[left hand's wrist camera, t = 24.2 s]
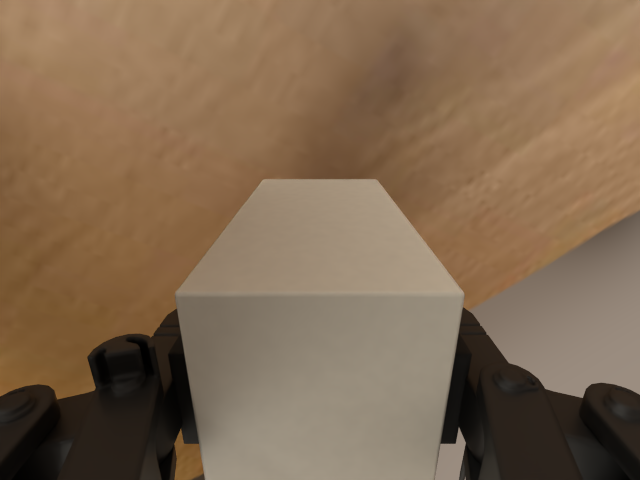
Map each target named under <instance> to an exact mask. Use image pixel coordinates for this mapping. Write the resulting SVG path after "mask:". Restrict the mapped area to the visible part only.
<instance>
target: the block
mask: <svg viewBox="0 0 640 480" xmlns="http://www.w3.org/2000/svg"><path fill="white" fill-rule="evenodd" d="M464 297H465V295H464V292H463V291H462V289H461V288H460V287H459V285H458V284H457V283H456V281H455V280H454V279H453V278H452V276H451V275H450V274H449V272H448V271H447V270H446V268H445V267H444V266H443V265H442V263H441V262H440V261H439V259H438V258H437V257H436V255H435V254H434V253H433V252H432V250H431V249H430V248H429V246H428V245H427V244H426V242H425V241H424V240H423V239H422V237H421V236H420V235H419V233H418V232H417V231H416V230H415V228H414V227H413V226H412V224H411V223H410V222H409V220H408V219H407V218H406V217H405V215H404V214H403V213H402V211H401V210H400V209H399V207H398V206H397V205H396V204H395V202H394V201H393V200H392V198H391V197H390V196H389V194H388V193H387V192H386V191H385V189H384V188H383V187H382V185H381V184H380V183H379V181H378V180H377V179H263V180H262V181H261V183H260V184H259V185H258V187H257V188H256V189H255V190H254V192H253V193H252V194H251V196H250V197H249V198H248V200H247V201H246V202H245V203H244V205H243V206H242V207H241V209H240V210H239V211H238V212H237V214H236V215H235V216H234V218H233V219H232V220H231V221H230V223H229V224H228V225H227V227H226V228H225V229H224V231H223V232H222V233H221V234H220V236H219V237H218V238H217V240H216V241H215V242H214V243H213V245H212V246H211V247H210V249H209V250H208V251H207V252H206V254H205V255H204V256H203V258H202V259H201V260H200V262H199V263H198V264H197V265H196V267H195V268H194V269H193V271H192V272H191V273H190V274H189V276H188V277H187V278H186V280H185V281H184V282H183V284H182V285H181V286H180V287H179V289H178V290H177V291H176V293H175V299H176V305H177V311H178V318H179V324H180V330H181V336H182V342H183V348H184V354H185V360H186V366H187V372H188V378H189V384H190V391H191V397H192V403H193V409H194V415H195V421H196V427H197V433H198V439H199V445H200V451H201V457H202V464H203V470H204V476H205V480H435V474H436V467H437V461H438V455H439V449H440V443H441V437H442V431H443V425H444V419H445V413H446V407H447V400H448V394H449V388H450V382H451V376H452V370H453V364H454V358H455V352H456V346H457V339H458V333H459V327H460V321H461V315H462V309H463V303H464Z"/></svg>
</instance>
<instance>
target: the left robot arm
mask: <svg viewBox="0 0 640 480" xmlns="http://www.w3.org/2000/svg"><path fill="white" fill-rule="evenodd" d="M87 358H88V361H89V365H90V368H91V372H92V376H93V379H94V383H95V386H96V389H95V391H92V392H89V393H85V394H80V395H76V396H72V397H67V398H63V399H58V400H57V398H56V395H55V392H54V390H53V389H52V388H51V387H49V386H46V385H39V384H38V385H31V386H25V387H22V388H19V389H15V390H13V391H10V392H8V393H6V394H5V395H3V396H1V397H0V480H174V477H175V468H176V459H177V458H176V451H175V446H174V443H175V441H176V438H177V436H178V434H179V431H180V429H182V435H183V440H184V444H199V439H198V433H197V427H196V421H195V415H194V409H193V403H192V397H191V391H190V384H189V378H188V372H187V366H186V360H185V354H184V348H183V342H182V336H181V330H180V324H179V318H178V311H177V309H175V310H174V311H173V312H171V313H170V314H168V315H167V316H166V318H165V319H164V320H163V322H162V323H161V325H160V327H158V329H157V330H156V331H155V333H154V336H152V337H151V338H150V337H149V336H147V335H143V334H127V335H123V336H119V337H115V338H113V339H110V340H108V341H106V342H104V343H102V344H101V345H99V346H98V347H96V348H95V349H94V350H93V351H92V352H91V353H90V354H89V356H88V357H87ZM458 428H460V430H461V432H462V435H463V437H464V439H465V442H466V446H465V451H464V456H463V461H462V466H461V471H460V477H459V480H464V479H465V477H466V480H640V395H639V394H637V393H635V392H633V391H631V390H629V389H627V388H624V387H621V386H617V385H613V384H606V383H597V384H591V385H590V386H589V387H588V388H587V389H586V391H585V394H584V397H583V398H579V397H575V396H571V395H566V394H562V393H558V392H553V391H550V390H546V389H545V388H544V386H543V385H542V383H541V382H540V381H539V379H538V378H536V377H535V376H534V375H533V374H531V373H530V372H529V371H527V370H525V369H523V368H521V367H519V366H516V365H513V364H509V363H508V362H507V360H506V359H505V358H504V356H503V355H502V353H501V352H500V351H499V349H498V348H497V347H496V345H495V344H494V343H493V341H492V340H491V338H490V337H489V336H488V335H486V332H485V330H484V329H483V328H482V326H480V323H479V322H478V321H477V319H476V318H475V317H474V315H473V314H472V313H471V312H469V311H468V310H466V309H465V308H463V309H462V315H461V321H460V327H459V333H458V339H457V346H456V352H455V358H454V364H453V370H452V376H451V382H450V388H449V394H448V400H447V407H446V413H445V419H444V425H443V431H442V437H441V443H440V444H455V443H456V439H457V433H458Z"/></svg>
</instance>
